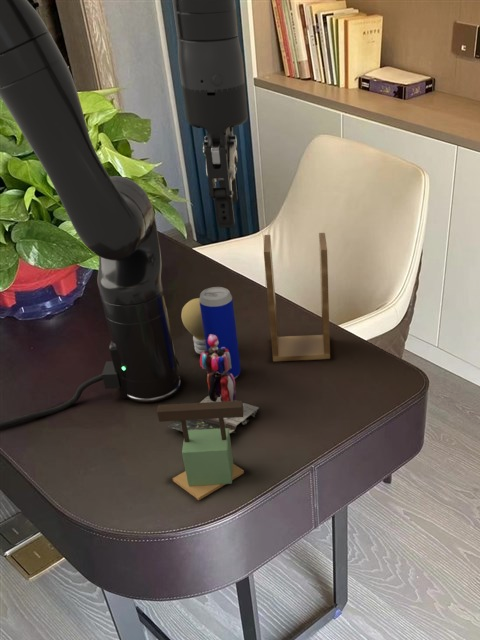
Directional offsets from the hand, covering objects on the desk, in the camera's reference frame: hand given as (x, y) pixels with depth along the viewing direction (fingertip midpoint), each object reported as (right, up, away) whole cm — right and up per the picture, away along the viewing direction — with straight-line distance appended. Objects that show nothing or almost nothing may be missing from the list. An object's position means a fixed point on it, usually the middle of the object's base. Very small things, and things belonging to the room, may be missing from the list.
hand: (228, 214), depth 96 cm
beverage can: (-5, -18, +27) cm, 33 cm away
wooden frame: (+8, -13, +33) cm, 36 cm away
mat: (-4, -35, +6) cm, 36 cm away
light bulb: (-10, -13, +33) cm, 37 cm away
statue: (-5, -27, +16) cm, 32 cm away
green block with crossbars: (-3, -35, +6) cm, 35 cm away
